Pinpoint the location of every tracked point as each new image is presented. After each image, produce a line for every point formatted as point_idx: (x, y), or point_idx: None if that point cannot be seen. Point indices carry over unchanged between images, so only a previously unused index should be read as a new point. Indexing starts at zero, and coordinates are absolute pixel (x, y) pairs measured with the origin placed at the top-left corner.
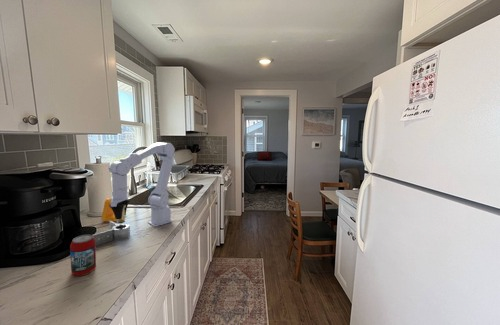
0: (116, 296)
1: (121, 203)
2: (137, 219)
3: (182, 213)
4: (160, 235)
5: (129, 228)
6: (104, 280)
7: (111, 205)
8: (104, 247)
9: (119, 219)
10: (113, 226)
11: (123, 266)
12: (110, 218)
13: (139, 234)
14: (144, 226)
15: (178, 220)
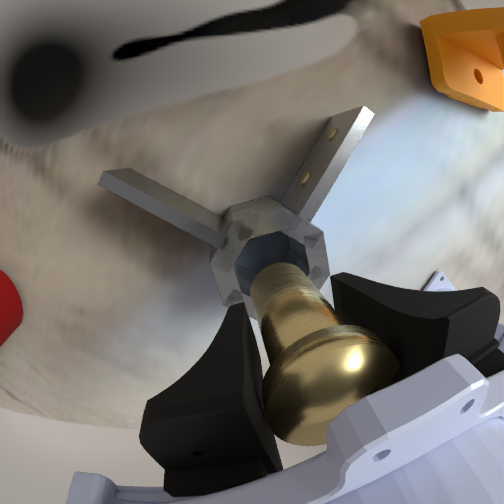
0: (12, 408)
1: (406, 375)
2: (469, 189)
3: None
4: None
5: None
6: (14, 370)
7: (78, 490)
8: (132, 239)
9: (256, 314)
10: (318, 166)
11: (66, 387)
12: (439, 62)
13: None
14: (400, 279)
15: None
